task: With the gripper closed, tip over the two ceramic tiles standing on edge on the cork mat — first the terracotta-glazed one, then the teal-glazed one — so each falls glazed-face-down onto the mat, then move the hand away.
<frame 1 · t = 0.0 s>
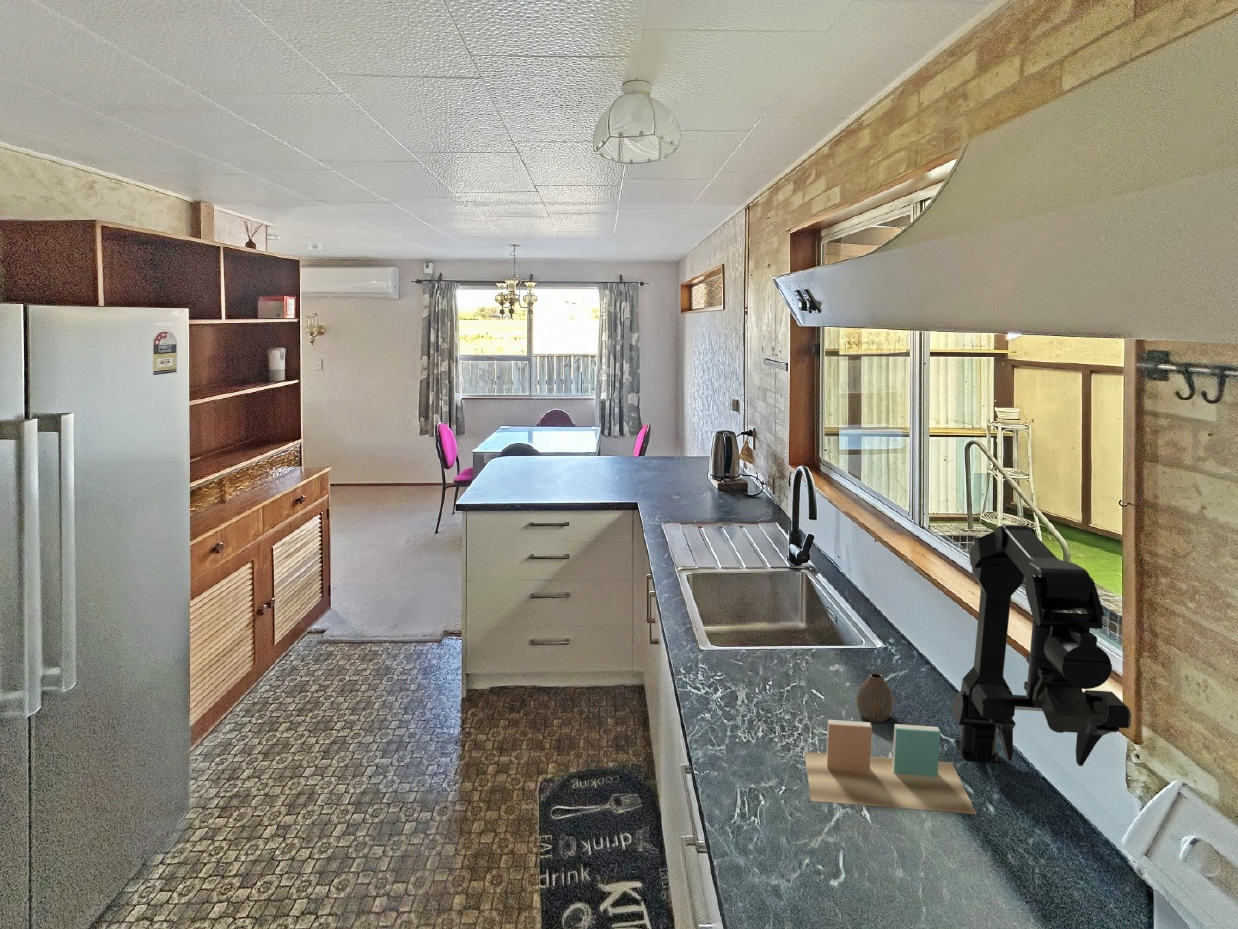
hand: (1043, 762, 111), 15 cm above the countertop, tool pointing down, fingers open, 9 cm apart
cork mat: (884, 783, 132), on the countertop
vase: (874, 719, 154), on the countertop
terracotta tile: (847, 767, 136), resting on cork mat
teal tile: (914, 772, 134), resting on cork mat
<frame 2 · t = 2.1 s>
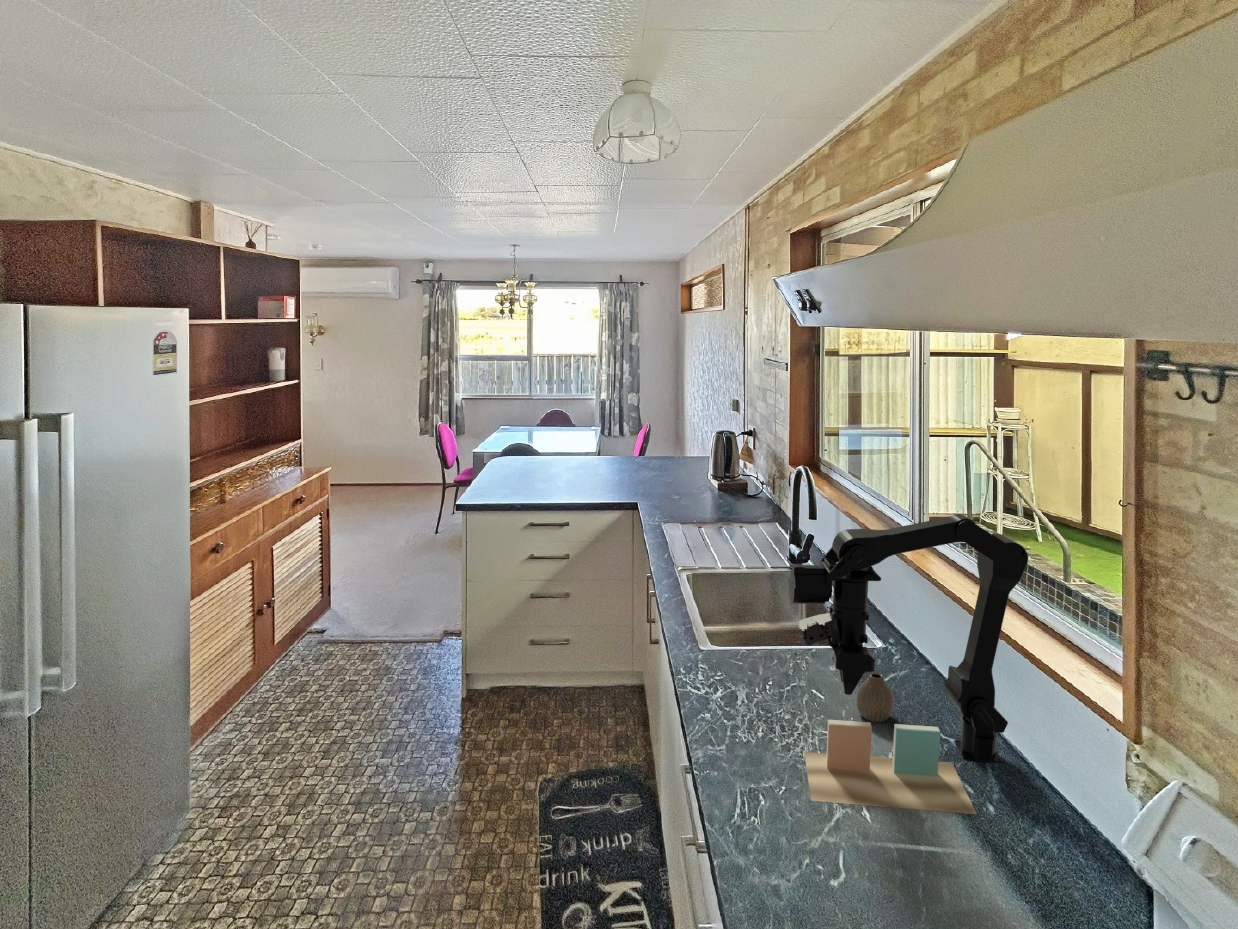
hand: (846, 688, 140), 12 cm above the countertop, tool pointing down, fingers open, 5 cm apart
nothing on the countertop moved.
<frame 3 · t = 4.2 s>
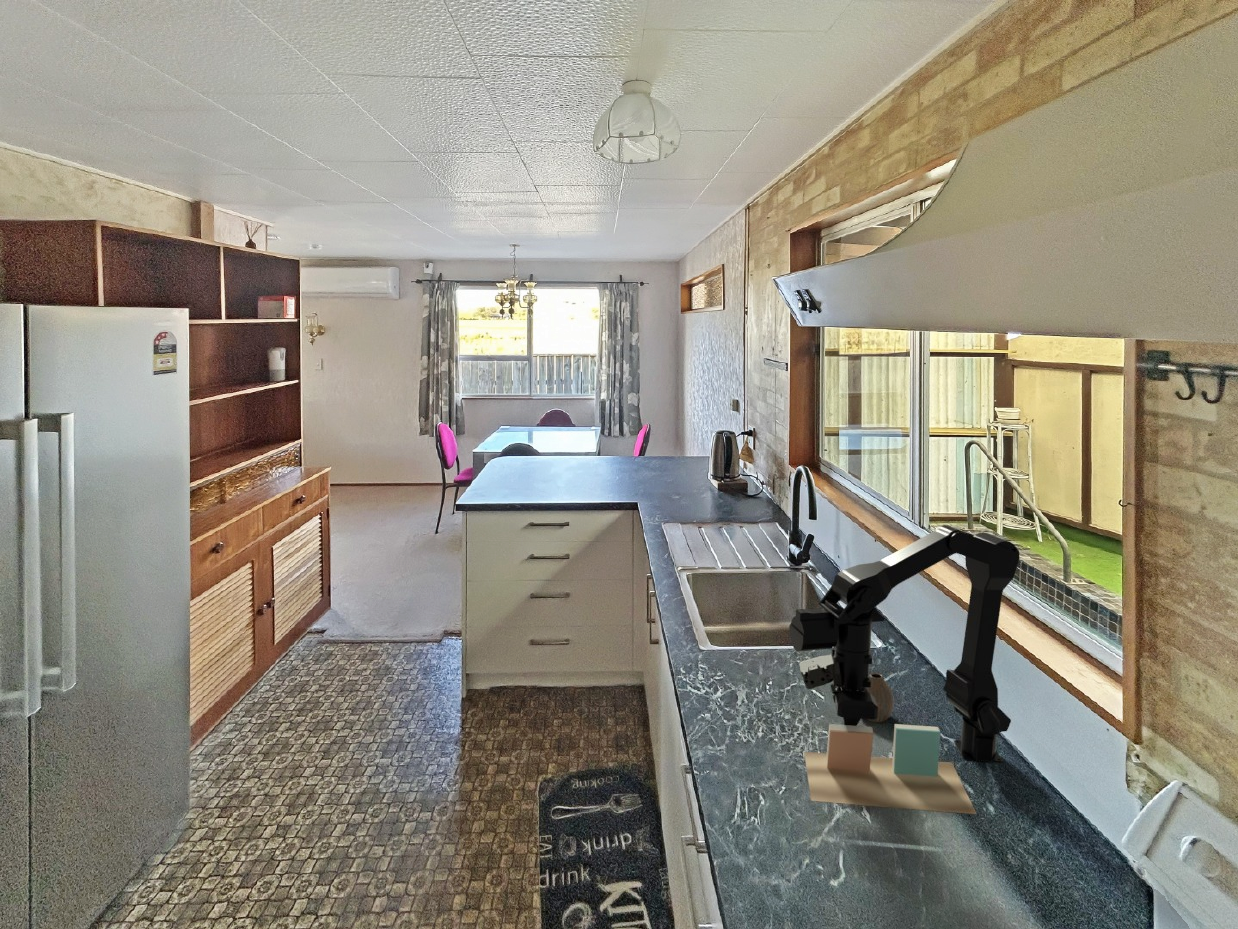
hand: (848, 732, 135), 7 cm above the countertop, tool pointing down, fingers closed
terracotta tile: (847, 766, 136), point 1 cm above the countertop, tilted 14°, touching cork mat
everything else where it was.
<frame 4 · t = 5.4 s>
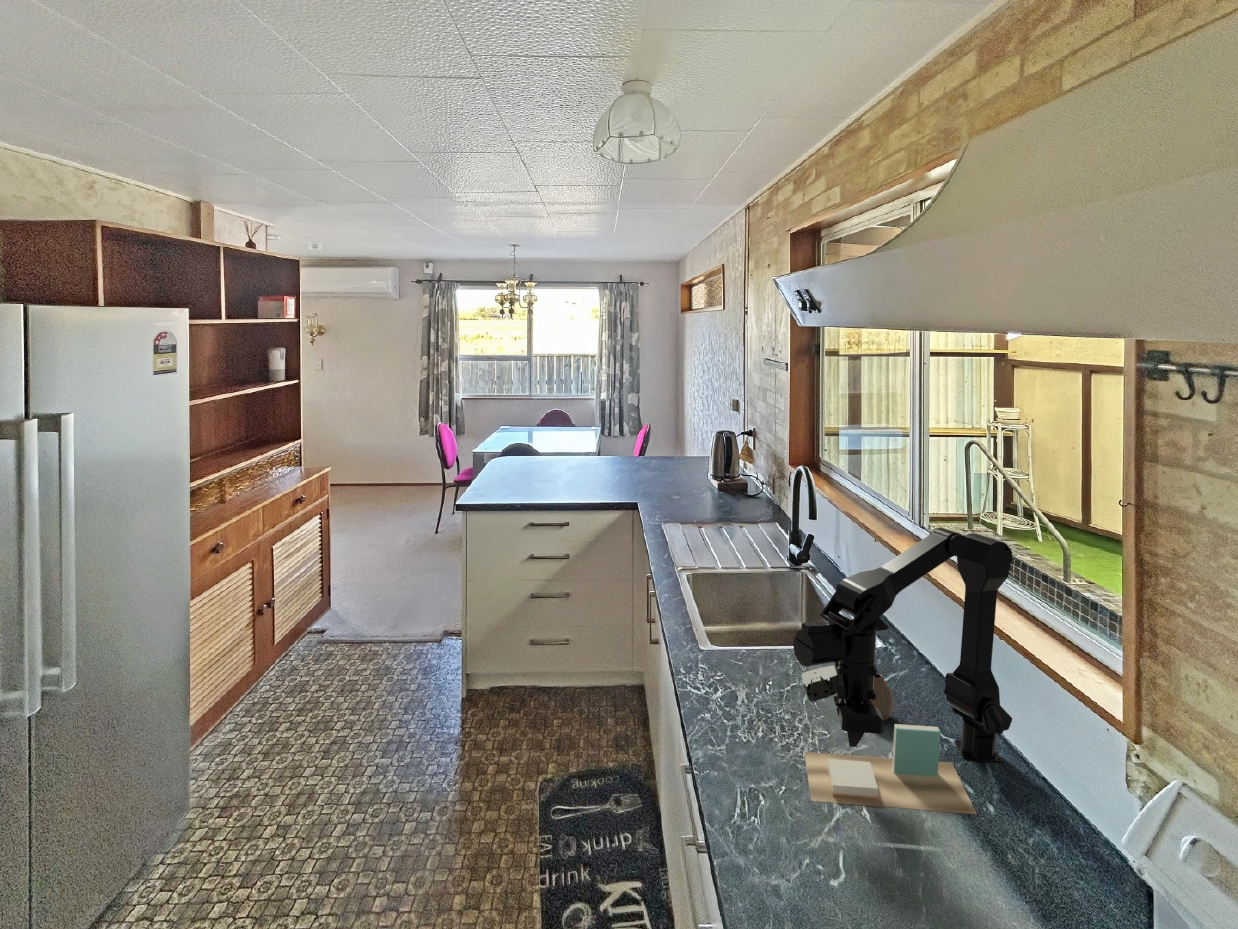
hand: (852, 746, 131), 7 cm above the countertop, tool pointing down, fingers closed
terracotta tile: (848, 765, 135), point 1 cm above the countertop, tilted 90°, touching cork mat
everything else where it was.
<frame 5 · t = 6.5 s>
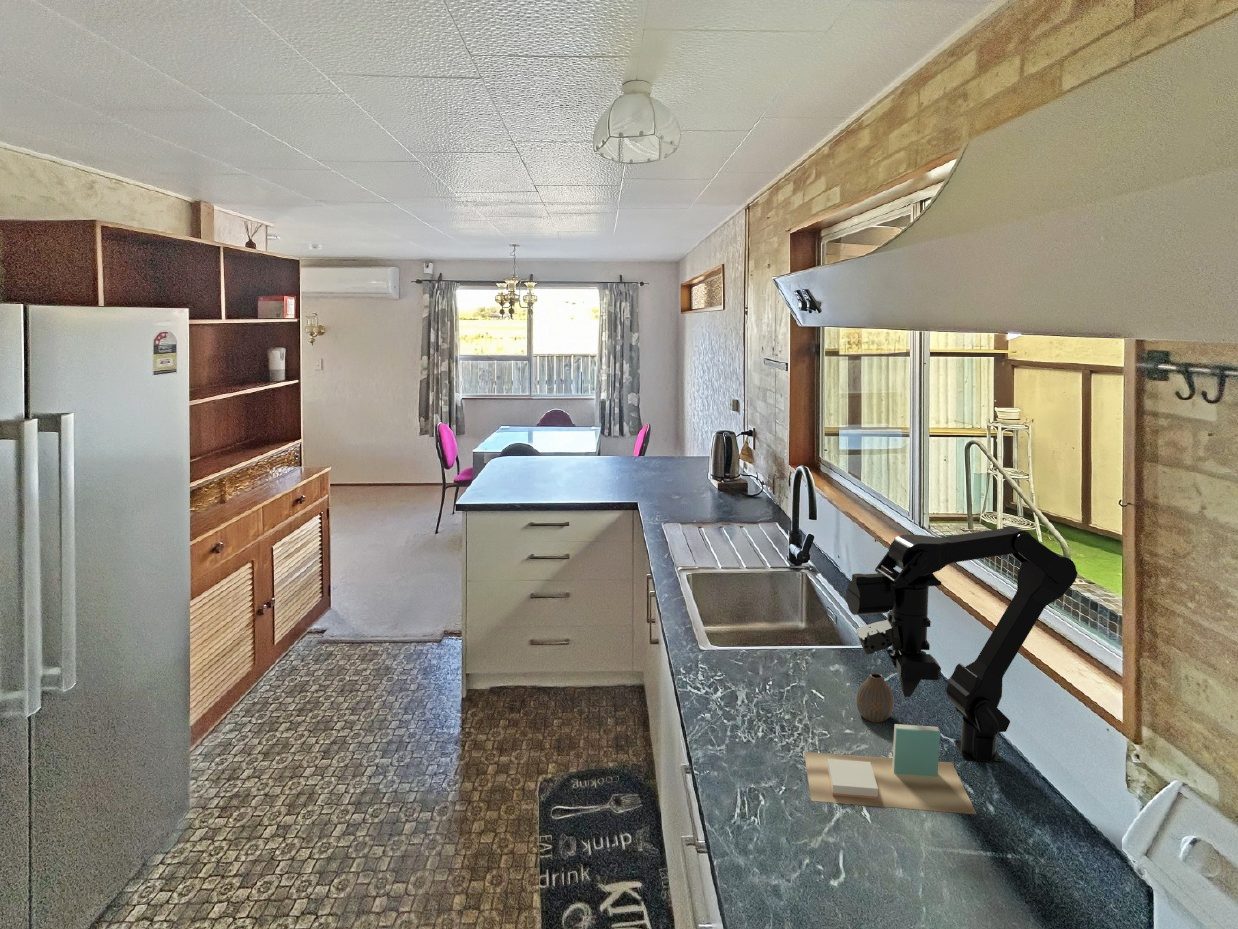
hand: (906, 696, 137), 12 cm above the countertop, tool pointing down, fingers closed
nothing on the countertop moved.
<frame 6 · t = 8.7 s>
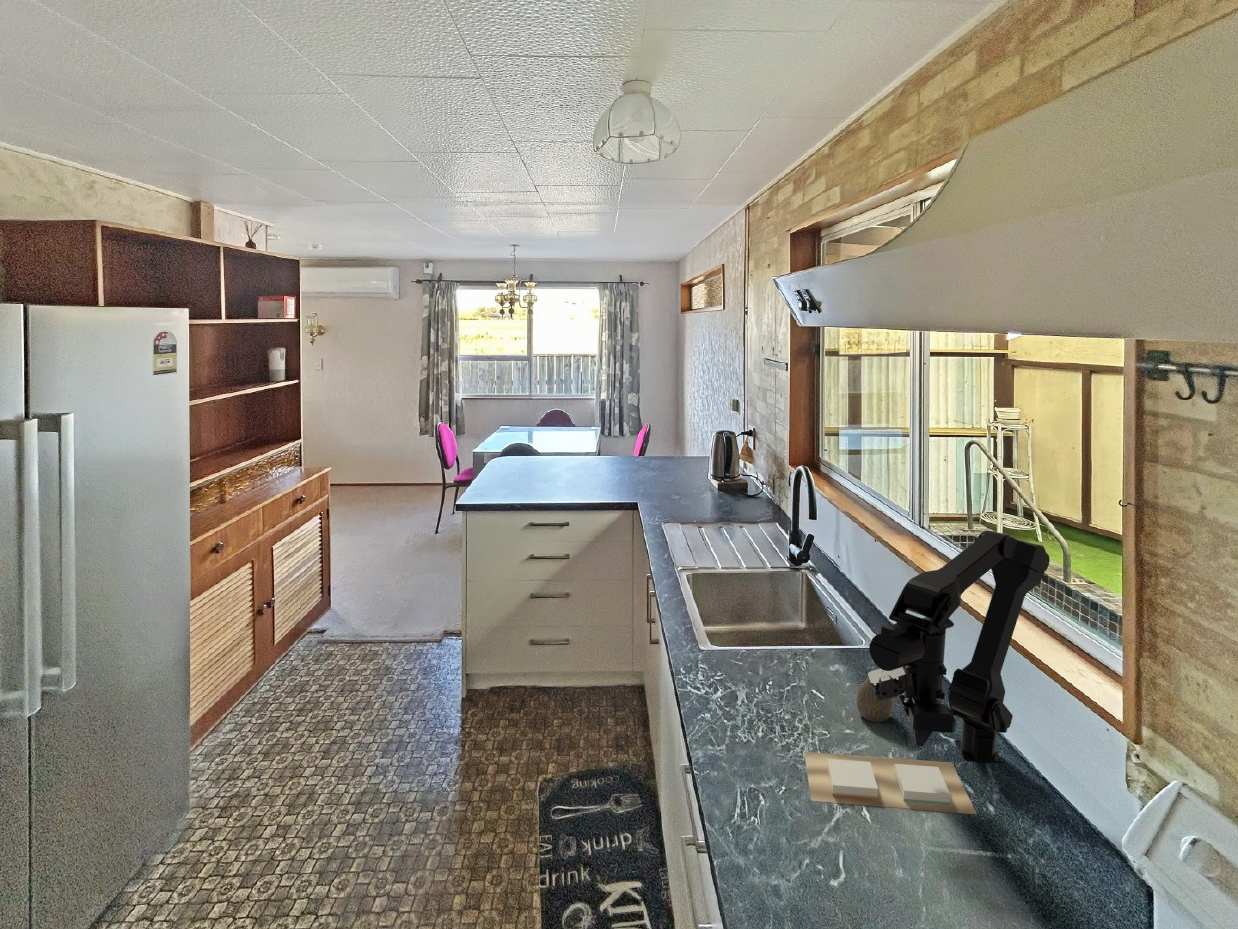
hand: (919, 745, 131), 7 cm above the countertop, tool pointing down, fingers closed
teal tile: (916, 770, 133), point 1 cm above the countertop, tilted 90°, touching cork mat
everything else where it was.
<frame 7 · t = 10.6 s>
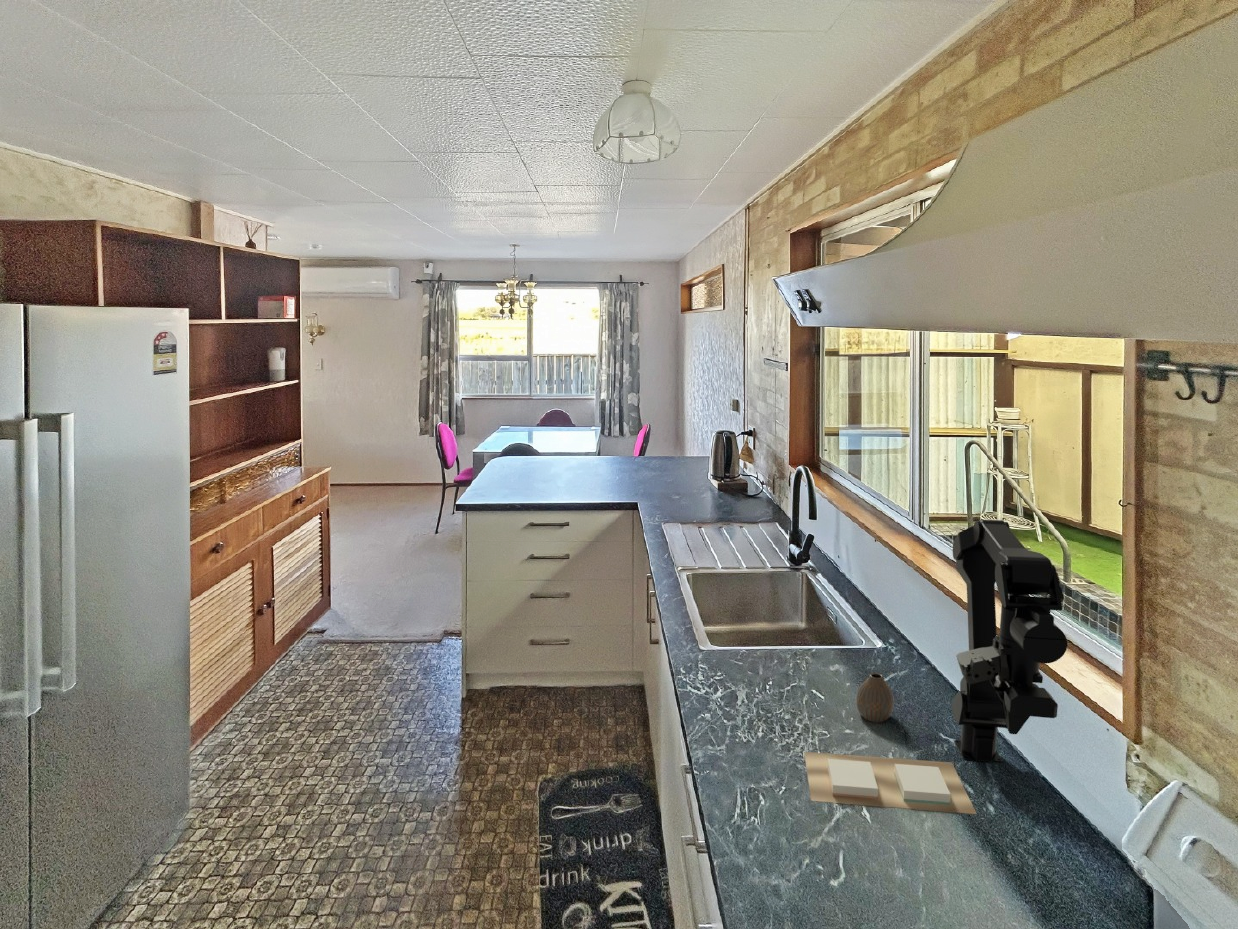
hand: (1012, 733, 122), 13 cm above the countertop, tool pointing down, fingers closed
nothing on the countertop moved.
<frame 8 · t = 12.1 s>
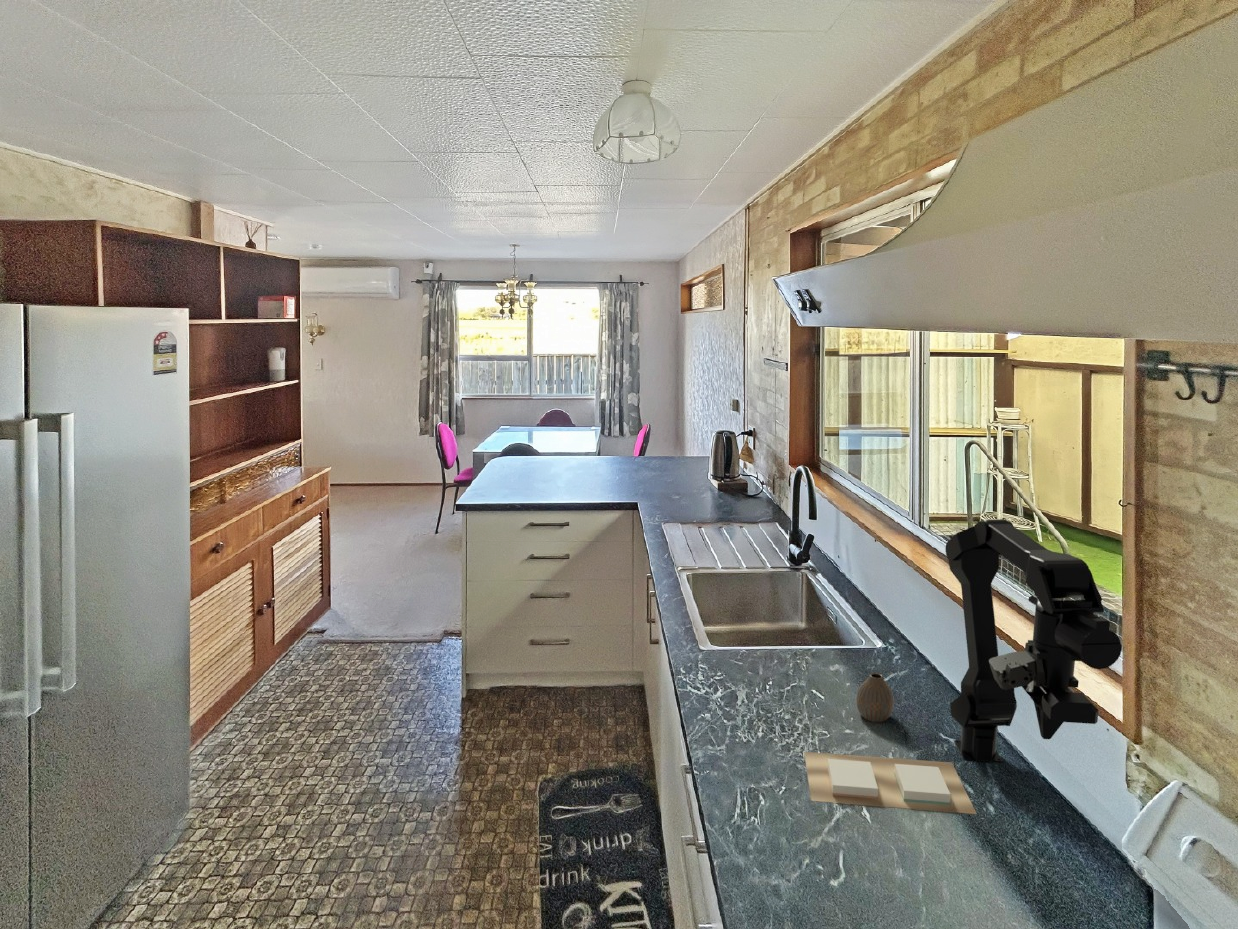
hand: (1045, 738, 121), 13 cm above the countertop, tool pointing down, fingers closed
nothing on the countertop moved.
at the end: terracotta tile tilted 90°; teal tile tilted 90°; teal tile inside the target area (6.3 cm from its centre), point 1.3 cm above the countertop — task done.
